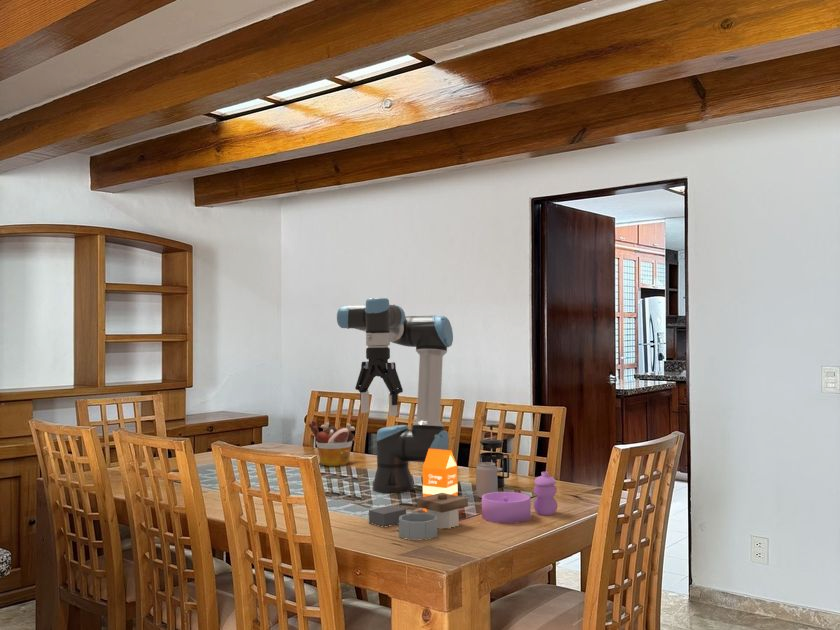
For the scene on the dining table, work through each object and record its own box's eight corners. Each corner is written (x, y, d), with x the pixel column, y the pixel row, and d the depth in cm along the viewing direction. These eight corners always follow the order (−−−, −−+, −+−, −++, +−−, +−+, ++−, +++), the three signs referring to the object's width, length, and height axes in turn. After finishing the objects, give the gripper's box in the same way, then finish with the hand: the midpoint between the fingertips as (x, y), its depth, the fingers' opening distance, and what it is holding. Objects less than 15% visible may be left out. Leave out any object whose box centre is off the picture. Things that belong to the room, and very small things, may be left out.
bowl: (420, 524, 235) (420, 506, 235) (442, 519, 242) (442, 501, 242) (442, 530, 228) (442, 511, 228) (465, 524, 235) (464, 506, 235)
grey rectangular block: (369, 523, 238) (368, 510, 238) (391, 518, 244) (390, 505, 244) (384, 527, 233) (383, 514, 233) (406, 521, 239) (405, 508, 239)
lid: (416, 506, 235) (416, 495, 235) (442, 500, 243) (442, 489, 243) (442, 512, 227) (442, 500, 227) (468, 506, 235) (467, 494, 235)
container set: (493, 525, 234) (492, 481, 234) (474, 513, 249) (474, 472, 249) (567, 518, 241) (566, 475, 242) (545, 507, 256) (544, 467, 256)
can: (496, 500, 267) (496, 465, 267) (475, 499, 268) (474, 464, 269) (498, 495, 274) (498, 461, 274) (477, 494, 276) (477, 461, 276)
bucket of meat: (351, 459, 352) (351, 416, 352) (359, 466, 336) (358, 420, 336) (307, 462, 346) (307, 418, 346) (313, 469, 330) (312, 422, 331)
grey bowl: (391, 535, 224) (391, 517, 224) (419, 527, 232) (419, 511, 232) (417, 542, 216) (417, 524, 216) (445, 534, 224) (445, 517, 224)
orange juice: (446, 515, 247) (445, 452, 247) (422, 511, 252) (421, 450, 252) (458, 509, 254) (457, 448, 254) (435, 506, 258) (434, 446, 259)
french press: (480, 489, 285) (480, 426, 285) (475, 484, 294) (474, 423, 294) (512, 488, 287) (511, 425, 287) (505, 482, 296) (504, 422, 296)
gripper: (344, 346, 251) (344, 412, 251) (395, 347, 233) (396, 418, 233) (362, 346, 256) (362, 410, 256) (413, 346, 238) (414, 416, 238)
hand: (378, 414), depth 244 cm, fingers open, 13 cm apart
